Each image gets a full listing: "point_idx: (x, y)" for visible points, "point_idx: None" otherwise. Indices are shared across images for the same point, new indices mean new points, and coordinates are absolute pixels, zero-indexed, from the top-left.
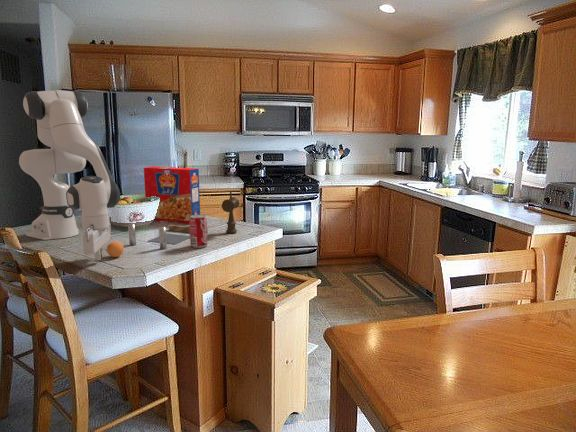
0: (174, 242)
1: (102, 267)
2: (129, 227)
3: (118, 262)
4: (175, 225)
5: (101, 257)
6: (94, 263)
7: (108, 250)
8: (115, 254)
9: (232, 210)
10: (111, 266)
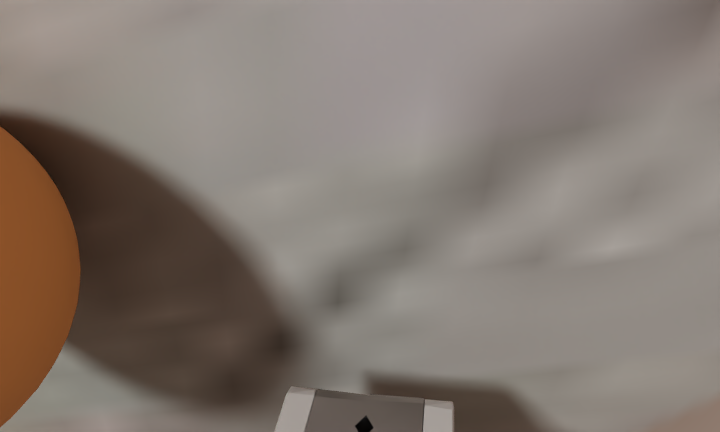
0: None
1: (681, 273)
2: None
3: (360, 24)
4: None
5: (363, 412)
6: None
7: (29, 397)
8: (48, 202)
9: None
10: (677, 115)
